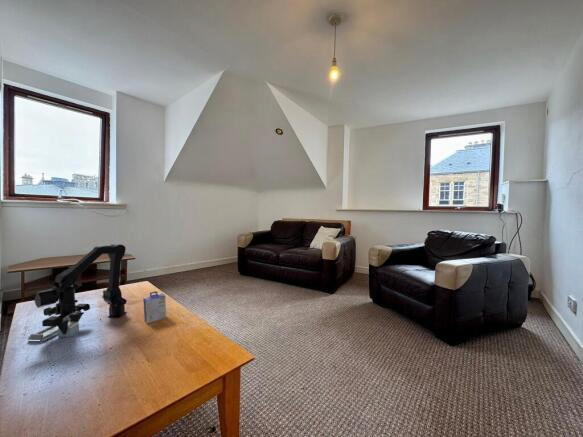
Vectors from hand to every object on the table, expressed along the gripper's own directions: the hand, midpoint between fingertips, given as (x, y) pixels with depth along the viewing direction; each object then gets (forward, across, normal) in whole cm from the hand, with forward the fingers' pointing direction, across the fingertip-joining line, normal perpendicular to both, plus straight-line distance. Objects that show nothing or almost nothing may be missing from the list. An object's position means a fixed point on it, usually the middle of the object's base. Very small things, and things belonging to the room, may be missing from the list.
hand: (68, 331), depth 118 cm
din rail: (+1, -2, -8) cm, 9 cm away
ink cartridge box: (+1, -16, +32) cm, 36 cm away
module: (+1, 0, 0) cm, 1 cm away
